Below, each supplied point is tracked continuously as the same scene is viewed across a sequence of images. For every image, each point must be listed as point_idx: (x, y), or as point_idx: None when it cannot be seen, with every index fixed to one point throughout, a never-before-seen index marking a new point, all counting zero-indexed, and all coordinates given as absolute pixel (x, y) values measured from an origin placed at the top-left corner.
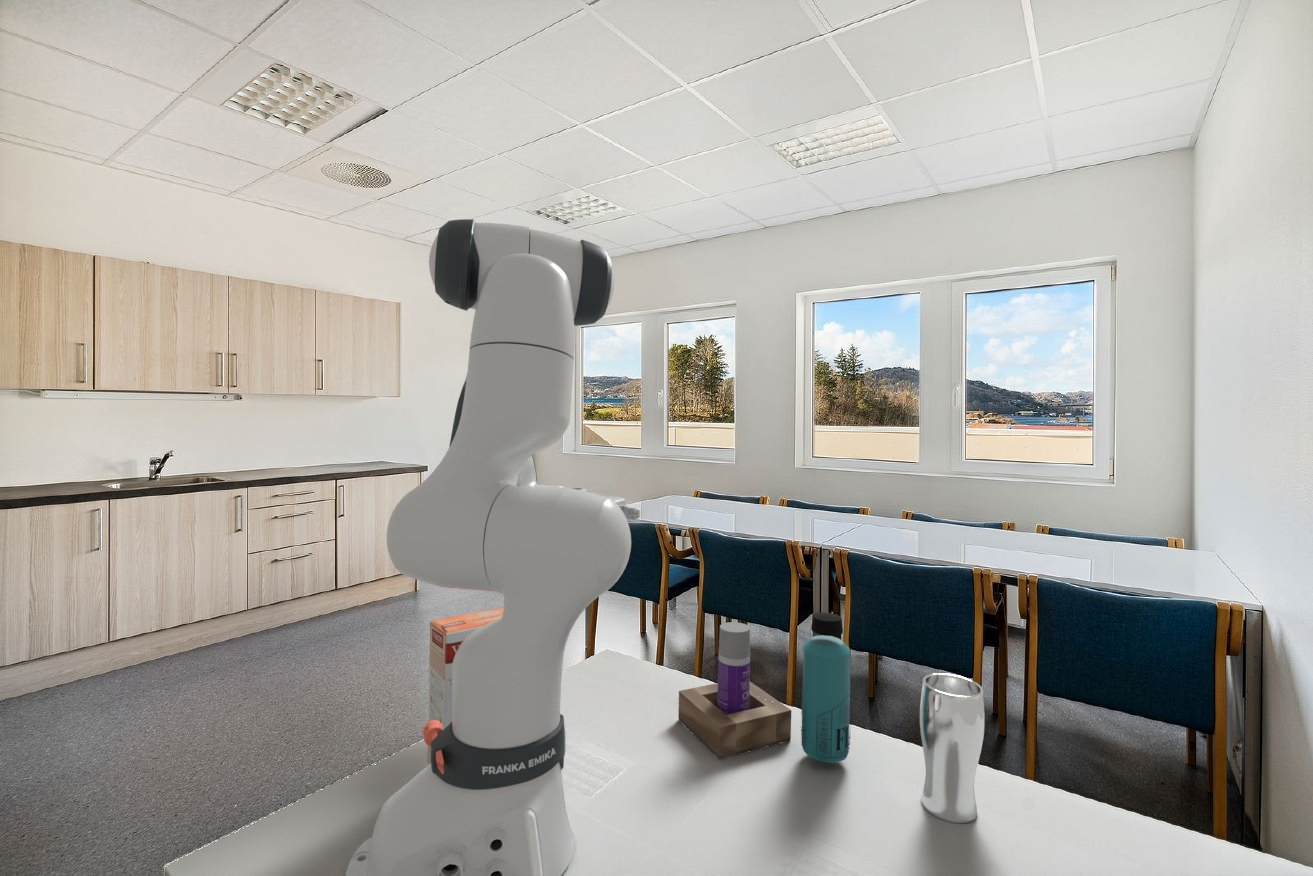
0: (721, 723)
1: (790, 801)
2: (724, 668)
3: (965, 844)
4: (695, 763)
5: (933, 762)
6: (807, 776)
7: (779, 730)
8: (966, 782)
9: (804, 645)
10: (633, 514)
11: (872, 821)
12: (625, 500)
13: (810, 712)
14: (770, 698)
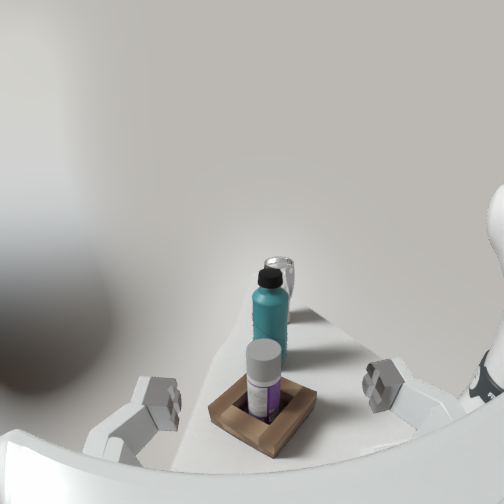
0: (310, 393)
1: (325, 364)
2: (280, 380)
3: (302, 313)
4: (329, 417)
5: (289, 300)
6: (294, 364)
7: None
8: None
9: (276, 303)
10: (173, 397)
11: (312, 336)
12: (20, 430)
13: (285, 336)
14: (242, 380)
